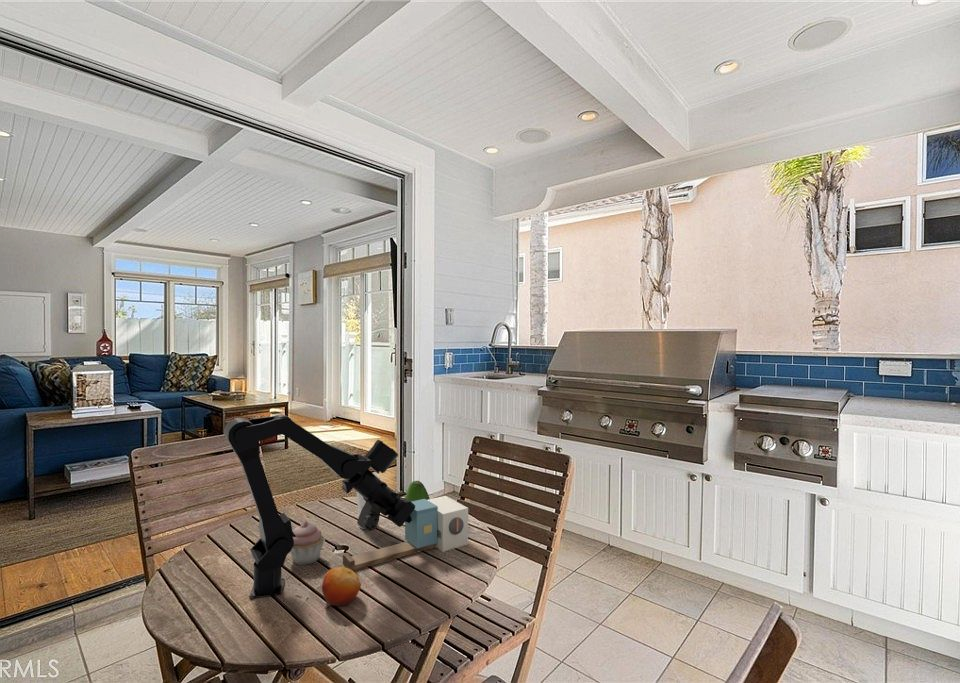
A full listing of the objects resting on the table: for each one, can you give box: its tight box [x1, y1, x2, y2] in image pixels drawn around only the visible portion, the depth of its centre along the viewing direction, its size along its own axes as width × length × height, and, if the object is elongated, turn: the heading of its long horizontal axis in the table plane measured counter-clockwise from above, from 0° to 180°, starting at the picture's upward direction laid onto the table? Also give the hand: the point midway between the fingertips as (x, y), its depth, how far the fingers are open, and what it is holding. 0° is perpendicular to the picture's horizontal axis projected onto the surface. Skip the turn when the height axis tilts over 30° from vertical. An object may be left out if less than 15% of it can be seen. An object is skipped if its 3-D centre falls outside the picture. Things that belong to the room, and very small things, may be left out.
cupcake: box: [289, 520, 326, 566], centre depth 121 cm, size 9×9×10 cm
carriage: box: [404, 499, 438, 549], centre depth 129 cm, size 6×7×10 cm
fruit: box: [321, 566, 362, 610], centre depth 102 cm, size 8×8×8 cm
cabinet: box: [428, 495, 469, 553], centre depth 133 cm, size 8×13×10 cm, turn 35°
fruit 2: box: [404, 480, 431, 502], centre depth 149 cm, size 8×8×12 cm
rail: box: [342, 540, 437, 571], centre depth 124 cm, size 24×5×2 cm, turn 125°
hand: (409, 521), depth 127 cm, fingers closed, pressing on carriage
